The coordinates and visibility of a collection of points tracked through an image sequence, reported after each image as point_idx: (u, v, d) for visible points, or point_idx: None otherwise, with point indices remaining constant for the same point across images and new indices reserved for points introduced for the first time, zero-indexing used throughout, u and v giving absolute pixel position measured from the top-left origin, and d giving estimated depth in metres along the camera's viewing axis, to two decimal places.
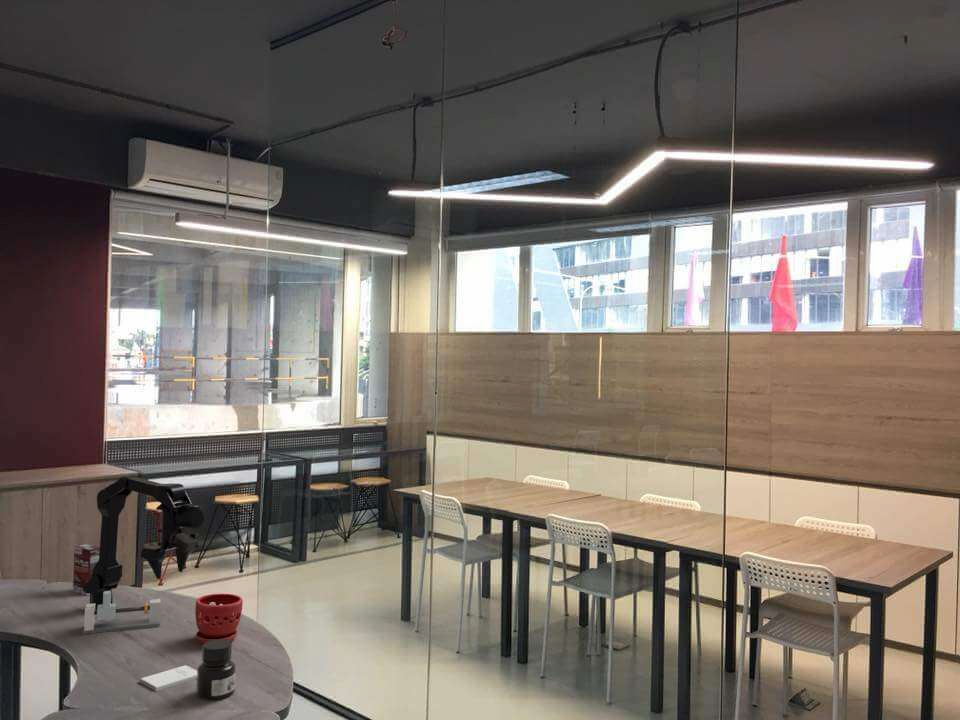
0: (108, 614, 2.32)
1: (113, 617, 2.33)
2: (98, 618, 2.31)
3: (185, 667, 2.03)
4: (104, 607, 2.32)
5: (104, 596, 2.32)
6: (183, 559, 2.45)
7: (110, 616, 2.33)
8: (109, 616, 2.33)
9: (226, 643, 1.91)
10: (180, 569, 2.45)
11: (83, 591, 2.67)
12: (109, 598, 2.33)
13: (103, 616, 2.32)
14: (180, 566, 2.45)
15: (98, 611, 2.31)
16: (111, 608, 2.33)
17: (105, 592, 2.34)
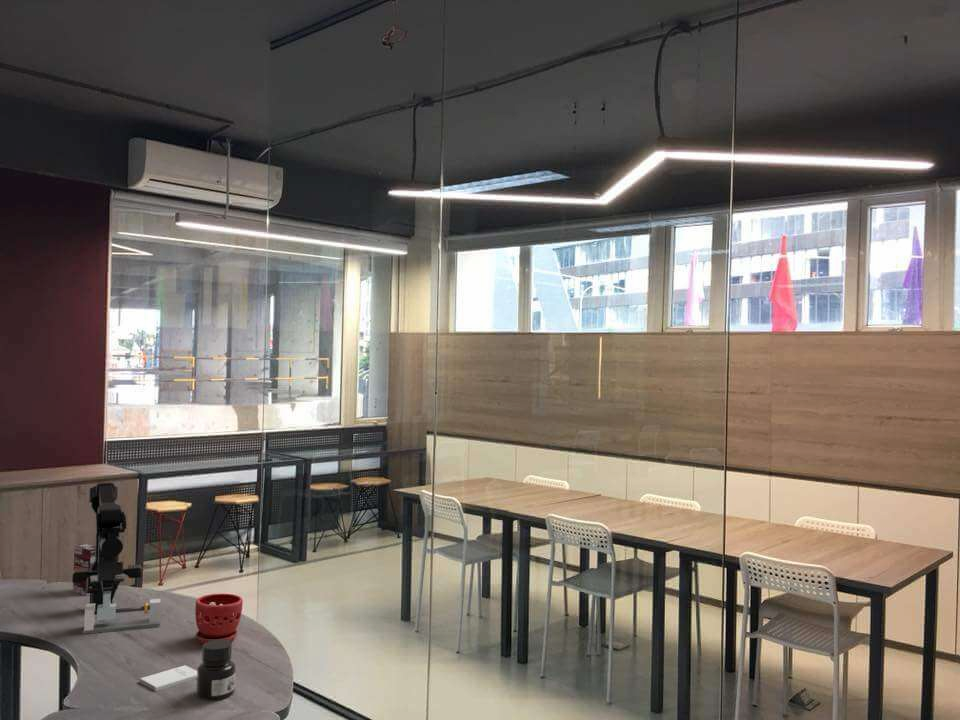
0: (108, 614, 2.32)
1: (113, 617, 2.33)
2: (98, 618, 2.31)
3: (185, 667, 2.03)
4: (104, 607, 2.32)
5: (104, 596, 2.32)
6: (112, 589, 2.34)
7: (110, 616, 2.33)
8: (109, 616, 2.33)
9: (226, 643, 1.91)
10: None
11: (83, 591, 2.67)
12: (109, 598, 2.33)
13: (103, 616, 2.32)
14: None
15: (98, 611, 2.31)
16: (111, 608, 2.33)
17: (105, 592, 2.34)
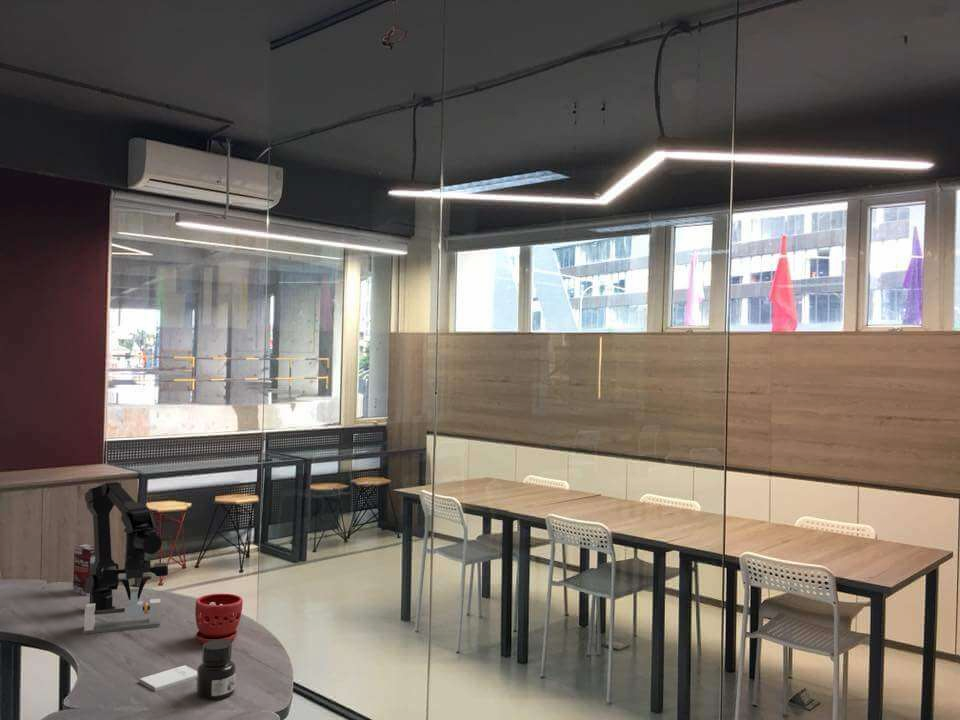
0: (135, 612, 2.35)
1: (140, 614, 2.36)
2: (126, 615, 2.34)
3: (184, 667, 2.03)
4: (131, 605, 2.35)
5: (131, 594, 2.35)
6: (139, 586, 2.37)
7: (137, 614, 2.36)
8: (136, 614, 2.35)
9: (226, 643, 1.91)
10: None
11: (83, 591, 2.67)
12: (136, 596, 2.36)
13: (130, 613, 2.35)
14: None
15: (126, 609, 2.34)
16: (138, 606, 2.36)
17: (132, 590, 2.37)
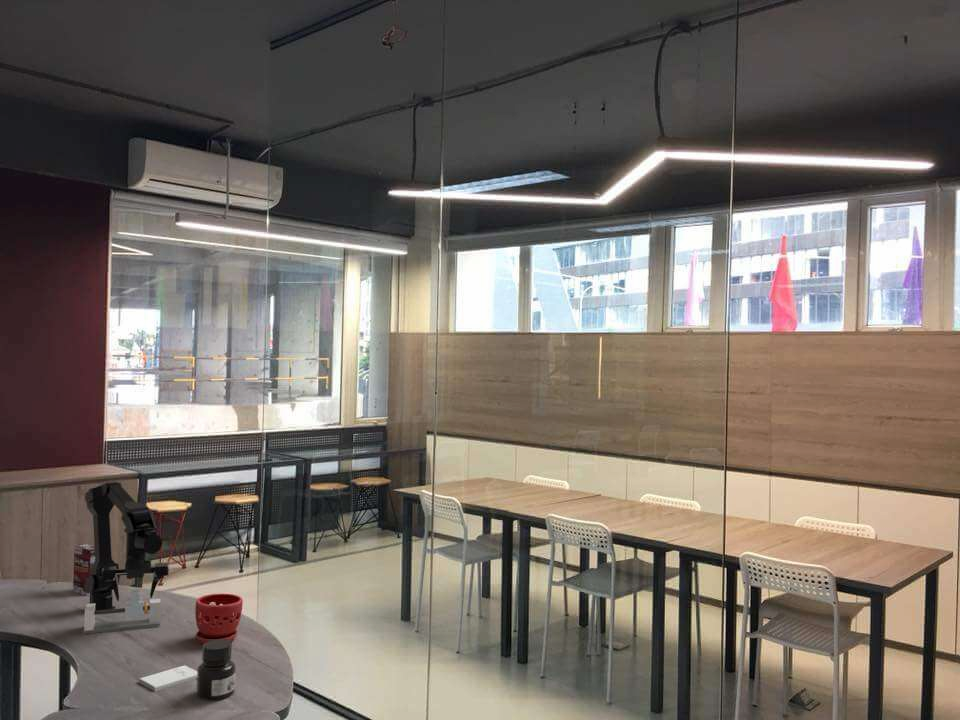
0: (135, 611, 2.35)
1: (141, 614, 2.36)
2: (126, 615, 2.34)
3: (184, 667, 2.03)
4: (132, 605, 2.35)
5: (132, 593, 2.35)
6: None
7: (138, 613, 2.36)
8: (136, 614, 2.36)
9: (226, 643, 1.91)
10: (150, 595, 2.38)
11: (83, 591, 2.67)
12: (137, 596, 2.36)
13: (131, 613, 2.35)
14: (150, 592, 2.39)
15: (126, 609, 2.34)
16: (139, 606, 2.36)
17: (133, 590, 2.37)
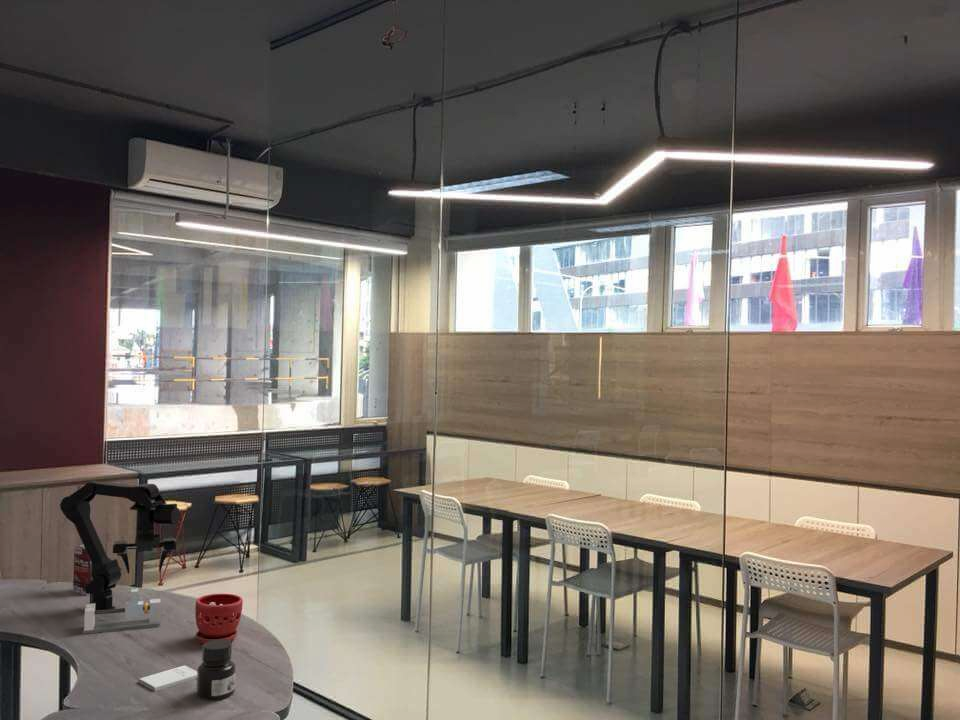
0: (135, 611, 2.35)
1: (141, 614, 2.36)
2: (126, 615, 2.34)
3: (184, 667, 2.03)
4: (132, 605, 2.35)
5: (132, 593, 2.35)
6: (160, 559, 2.51)
7: (138, 613, 2.36)
8: (136, 614, 2.36)
9: (226, 643, 1.91)
10: (159, 568, 2.51)
11: (83, 591, 2.67)
12: (137, 596, 2.36)
13: (131, 613, 2.35)
14: (159, 566, 2.51)
15: (126, 609, 2.34)
16: (139, 606, 2.36)
17: (133, 590, 2.37)
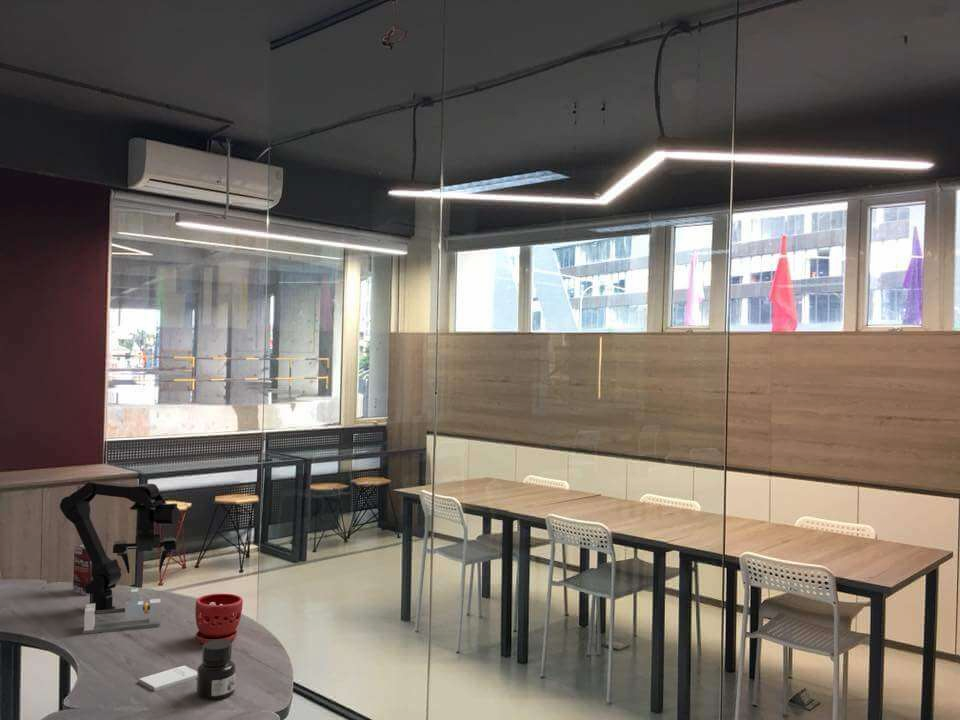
0: (135, 611, 2.35)
1: (141, 614, 2.36)
2: (126, 615, 2.34)
3: (184, 667, 2.03)
4: (132, 605, 2.35)
5: (132, 593, 2.35)
6: (160, 559, 2.51)
7: (138, 613, 2.36)
8: (136, 614, 2.36)
9: (226, 643, 1.91)
10: (159, 568, 2.51)
11: (83, 591, 2.67)
12: (137, 596, 2.36)
13: (131, 613, 2.35)
14: (159, 565, 2.51)
15: (126, 609, 2.34)
16: (139, 606, 2.36)
17: (133, 590, 2.37)
